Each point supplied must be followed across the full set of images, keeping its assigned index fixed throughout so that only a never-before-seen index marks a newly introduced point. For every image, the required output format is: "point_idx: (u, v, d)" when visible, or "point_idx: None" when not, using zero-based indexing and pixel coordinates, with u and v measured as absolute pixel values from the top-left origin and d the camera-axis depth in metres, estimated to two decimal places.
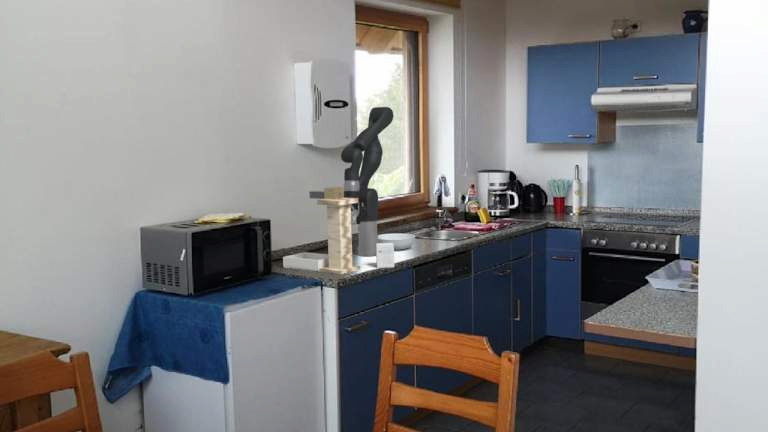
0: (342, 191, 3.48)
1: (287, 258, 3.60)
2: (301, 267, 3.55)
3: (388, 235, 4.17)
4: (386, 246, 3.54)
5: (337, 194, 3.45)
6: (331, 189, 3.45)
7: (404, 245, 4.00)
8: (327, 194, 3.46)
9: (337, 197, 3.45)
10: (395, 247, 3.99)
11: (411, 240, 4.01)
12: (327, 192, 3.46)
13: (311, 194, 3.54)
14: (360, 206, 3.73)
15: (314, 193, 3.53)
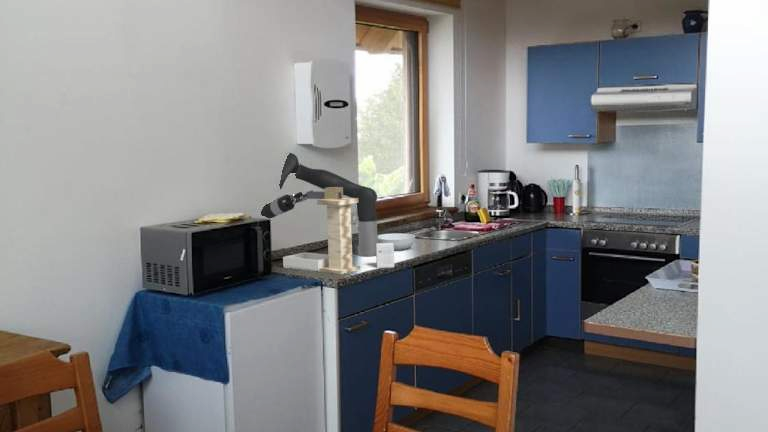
0: (342, 191, 3.49)
1: (287, 258, 3.60)
2: (301, 267, 3.55)
3: (388, 235, 4.17)
4: (386, 246, 3.54)
5: (338, 194, 3.46)
6: (332, 189, 3.45)
7: (404, 245, 4.00)
8: (328, 194, 3.46)
9: (338, 197, 3.46)
10: (395, 247, 3.99)
11: (411, 240, 4.01)
12: (328, 192, 3.46)
13: (308, 194, 3.52)
14: (286, 203, 3.62)
15: (312, 193, 3.51)
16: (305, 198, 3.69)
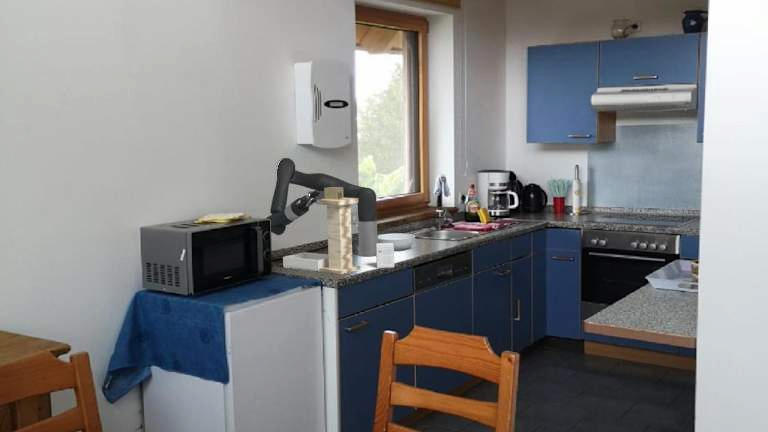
0: (342, 191, 3.48)
1: (287, 258, 3.60)
2: (301, 267, 3.55)
3: (388, 235, 4.17)
4: (386, 246, 3.54)
5: (338, 194, 3.45)
6: (331, 189, 3.45)
7: (404, 245, 4.00)
8: (328, 194, 3.46)
9: (337, 197, 3.45)
10: (395, 247, 3.99)
11: (411, 240, 4.01)
12: (327, 192, 3.46)
13: None
14: (301, 204, 3.52)
15: None
16: (317, 199, 3.57)
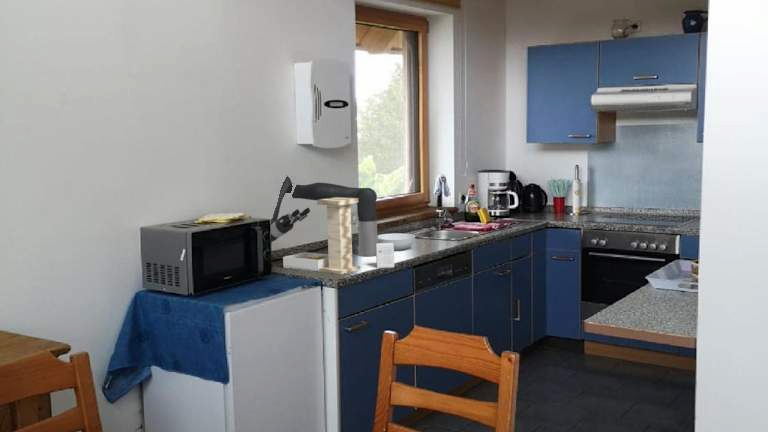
0: None
1: (287, 258, 3.60)
2: (301, 267, 3.55)
3: (388, 235, 4.17)
4: (386, 246, 3.54)
5: None
6: (314, 257, 3.55)
7: (404, 245, 4.00)
8: None
9: None
10: (395, 247, 3.99)
11: (411, 240, 4.01)
12: None
13: None
14: (284, 222, 3.59)
15: None
16: (302, 216, 3.64)
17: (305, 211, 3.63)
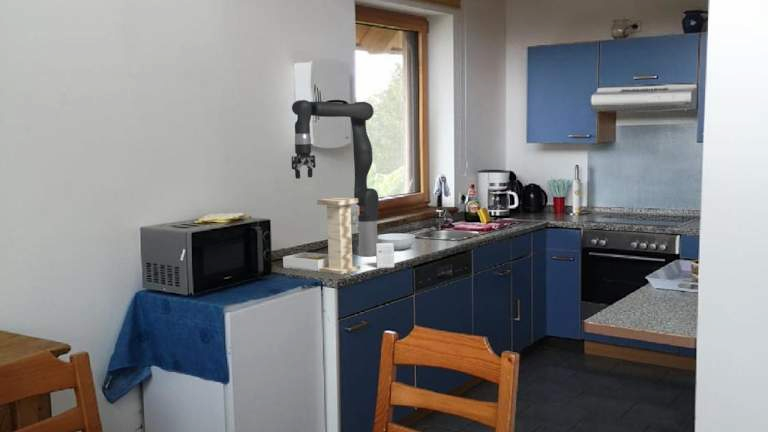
0: None
1: (287, 258, 3.60)
2: (301, 267, 3.55)
3: (388, 235, 4.17)
4: (386, 246, 3.54)
5: None
6: (314, 257, 3.55)
7: (404, 245, 4.00)
8: None
9: None
10: (395, 247, 3.99)
11: (411, 240, 4.01)
12: None
13: None
14: None
15: None
16: (307, 167, 3.73)
17: (309, 172, 3.73)
